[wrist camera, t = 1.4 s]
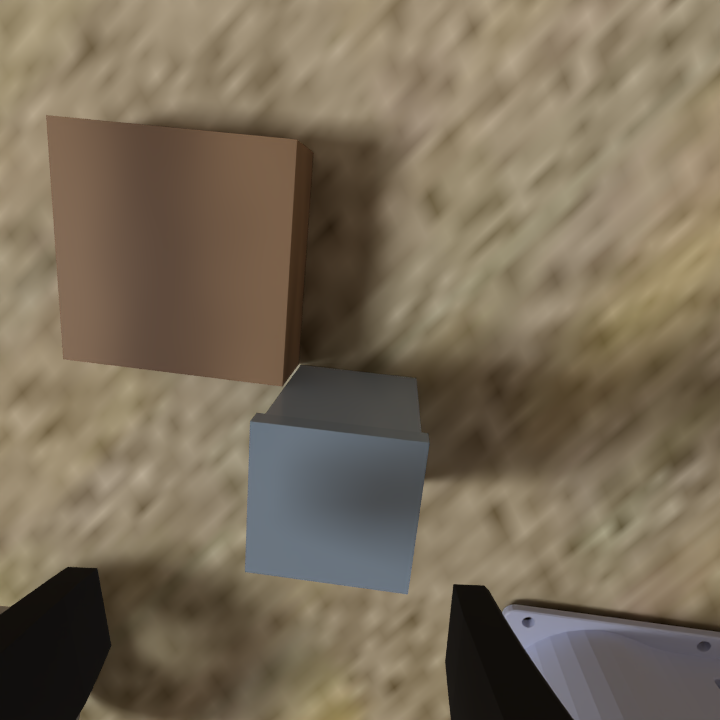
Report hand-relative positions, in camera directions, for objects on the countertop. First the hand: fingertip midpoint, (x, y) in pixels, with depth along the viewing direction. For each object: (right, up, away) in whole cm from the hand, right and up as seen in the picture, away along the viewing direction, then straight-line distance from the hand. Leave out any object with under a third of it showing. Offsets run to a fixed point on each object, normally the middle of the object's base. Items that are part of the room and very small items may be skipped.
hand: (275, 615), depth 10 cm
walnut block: (-4, +9, +8) cm, 13 cm away
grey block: (+1, +3, +9) cm, 10 cm away
